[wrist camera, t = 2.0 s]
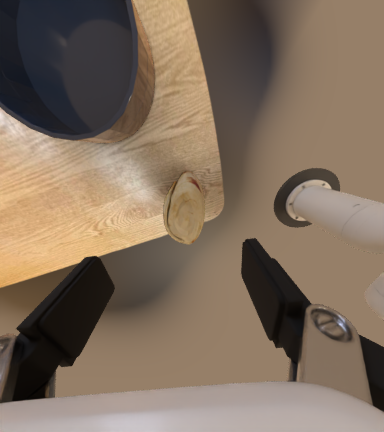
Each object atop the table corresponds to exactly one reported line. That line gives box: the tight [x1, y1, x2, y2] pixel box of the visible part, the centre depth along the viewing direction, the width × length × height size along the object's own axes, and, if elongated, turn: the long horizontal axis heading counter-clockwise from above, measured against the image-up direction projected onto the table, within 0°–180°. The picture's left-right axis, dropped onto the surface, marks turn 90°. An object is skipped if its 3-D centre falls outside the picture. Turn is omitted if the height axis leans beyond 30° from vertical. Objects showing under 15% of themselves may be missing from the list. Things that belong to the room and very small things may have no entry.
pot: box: [0, 0, 155, 143], centre depth 22 cm, size 24×24×10 cm
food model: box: [163, 171, 205, 244], centre depth 27 cm, size 10×7×20 cm
